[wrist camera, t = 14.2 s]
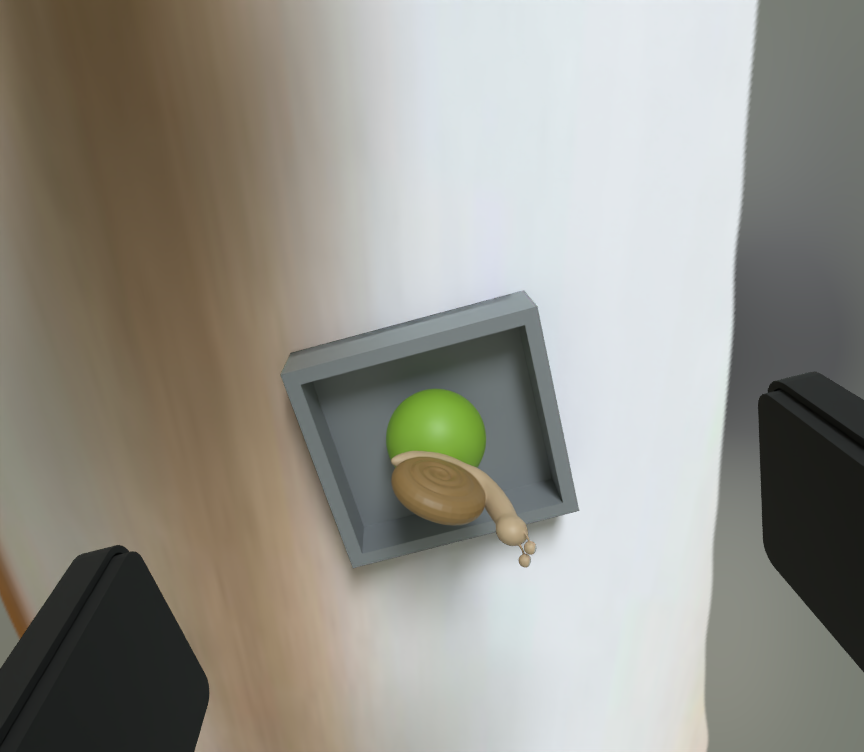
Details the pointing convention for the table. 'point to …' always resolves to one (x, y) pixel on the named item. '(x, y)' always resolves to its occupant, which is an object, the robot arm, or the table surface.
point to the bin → (420, 370)
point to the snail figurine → (448, 466)
